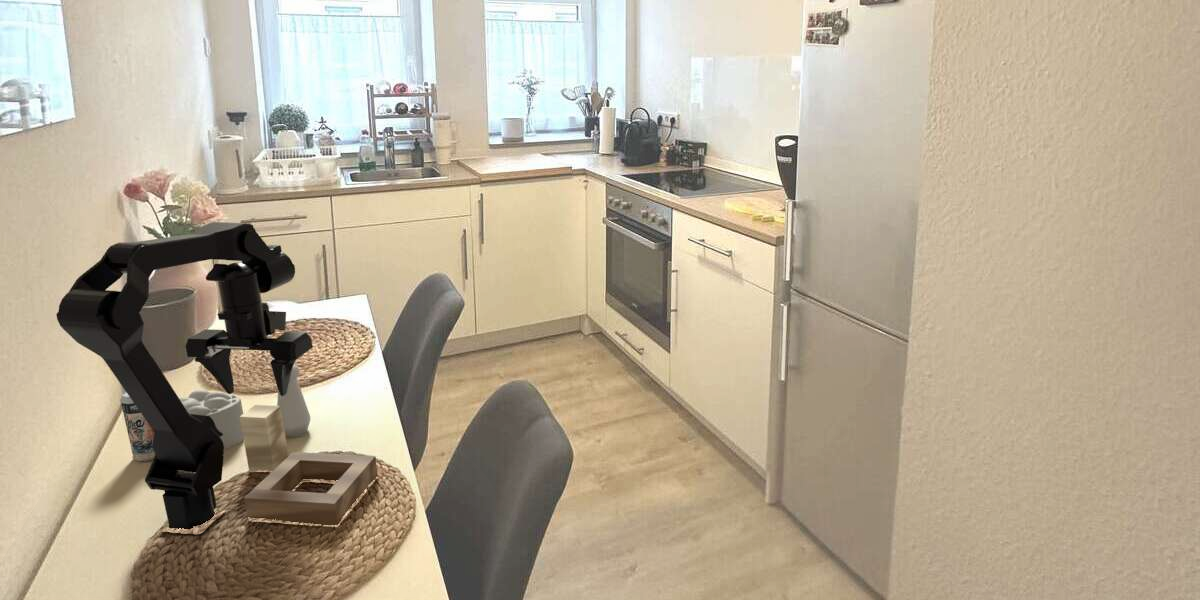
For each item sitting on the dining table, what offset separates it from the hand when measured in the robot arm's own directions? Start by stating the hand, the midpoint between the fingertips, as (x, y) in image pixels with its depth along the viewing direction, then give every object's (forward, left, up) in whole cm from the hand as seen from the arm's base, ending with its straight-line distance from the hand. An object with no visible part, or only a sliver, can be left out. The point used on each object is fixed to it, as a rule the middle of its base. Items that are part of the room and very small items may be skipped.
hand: (257, 394), depth 130 cm
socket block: (-9, -13, -13) cm, 20 cm away
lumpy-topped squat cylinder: (+7, +16, -13) cm, 22 cm away
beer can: (+1, +23, -13) cm, 27 cm away
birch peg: (0, 0, -13) cm, 13 cm away
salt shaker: (+12, +2, -13) cm, 18 cm away
